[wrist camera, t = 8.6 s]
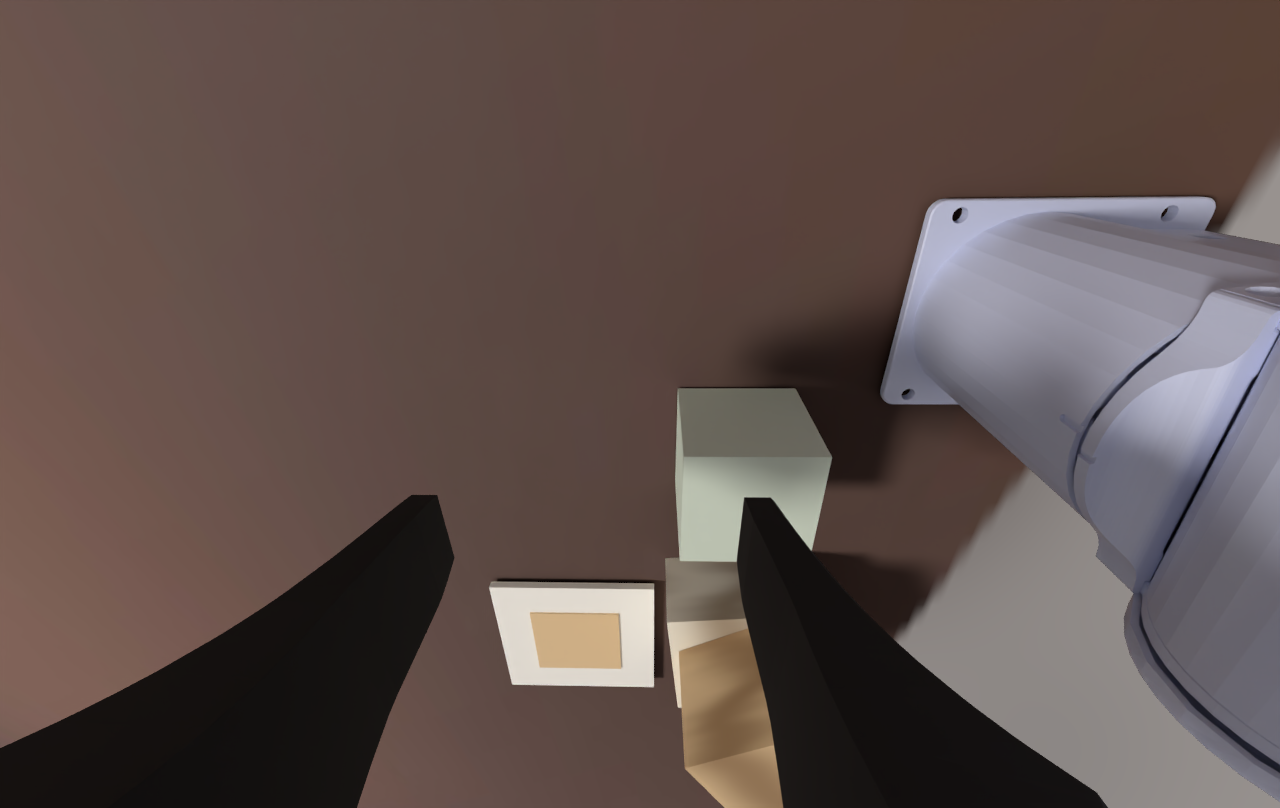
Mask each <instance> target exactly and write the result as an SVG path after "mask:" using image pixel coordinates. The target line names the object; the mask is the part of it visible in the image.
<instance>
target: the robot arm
mask: <svg viewBox="0 0 1280 808" xmlns="http://www.w3.org/2000/svg"><path fill="white" fill-rule="evenodd" d="M1167 207H1168V210H1167V213H1166V214H1165V215H1164V216H1163V217H1162V218H1161V214H1162V212H1163V211H1164V210H1165V209H1166V208H1167ZM958 208H961V209H962V214H961V216H960V218H959V219H957V220H956V221H953V220H952V215H953V213H954V211H956V210H957V209H958ZM1215 208H1216V204H1215V201H1214V200H1213V199H1212V198H1208V197H1201V196H1158V197H1057V198H956V199H940V200H938V201H936V202H934V203H933V204H932V205H931V206H930V207H929V208H928V210H927V213H926V216H925V219H924V223H923V227H922V231H921V235H920V239H919V243H918V246H917V250H916V254H915V258H914V262H913V266H912V270H911V274H910V277H909V281H908V285H907V289H906V293H905V297H904V301H903V304H902V308H901V312H900V316H899V320H898V324H897V328H896V331H895V335H894V339H893V343H892V347H891V351H890V355H889V359H888V362H887V366H886V370H885V374H884V378H883V382H882V386H881V389H880V395H881V397H882V399H883V400H884V401H885V402H887V403H888V404H959V405H960V406H961V407H962V408H963V409H964V410H966V411H967V412H968V413H969V414H970V415H971V416H972V417H973V418H974V419H975V420H976V421H978V422H979V423H980V424H981V425H982V426H983V427H984V428H985V429H986V430H987V431H989V432H990V433H991V434H992V435H993V436H994V437H995V438H996V439H997V440H998V441H1000V442H1001V443H1002V444H1003V445H1004V446H1005V447H1006V448H1007V449H1008V450H1009V451H1011V452H1012V453H1013V454H1014V455H1015V456H1016V457H1017V458H1018V459H1019V460H1020V461H1021V462H1023V463H1024V464H1025V465H1026V466H1027V467H1028V468H1029V469H1030V470H1031V471H1032V472H1034V473H1035V474H1036V475H1037V476H1038V477H1039V478H1040V479H1041V480H1043V482H1045V483H1046V484H1047V485H1048V486H1049V487H1050V488H1051V489H1052V490H1053V491H1054V492H1056V493H1057V494H1058V495H1059V496H1060V497H1061V498H1062V499H1063V500H1064V501H1065V502H1066V503H1068V504H1069V505H1070V506H1071V507H1072V508H1073V509H1074V510H1075V511H1076V512H1077V513H1079V514H1080V515H1081V516H1082V517H1083V518H1084V519H1085V520H1086V521H1087V522H1088V523H1090V525H1091V526H1092V527H1093V528H1094V530H1095V531H1096V533H1097V535H1098V539H1099V546H1098V550H1097V553H1096V557H1097V558H1098V559H1099V560H1100V561H1101V562H1102V563H1103V564H1104V565H1105V566H1106V567H1107V568H1108V569H1109V570H1110V571H1112V573H1113V574H1114V575H1116V577H1118V578H1119V579H1120V580H1121V581H1122V582H1123V583H1124V584H1125V585H1126V586H1127V587H1128V588H1129V589H1130V590H1131V591H1132V592H1133V593H1134V594H1133V596H1132V598H1131V600H1130V602H1129V603H1128V606H1127V610H1126V613H1125V616H1124V635H1125V639H1126V643H1127V646H1128V650H1129V653H1130V656H1131V658H1132V659H1133V661H1134V663H1135V665H1136V667H1137V669H1138V671H1139V673H1140V675H1141V676H1142V678H1143V679H1144V681H1145V682H1146V683H1147V685H1148V686H1149V688H1150V689H1151V690H1152V692H1153V693H1154V695H1155V696H1156V697H1157V699H1158V700H1159V701H1160V702H1161V703H1162V704H1163V705H1164V706H1165V708H1166V709H1167V710H1168V711H1169V712H1170V713H1171V714H1172V715H1173V716H1174V717H1175V719H1176V720H1177V721H1178V722H1179V723H1180V724H1181V725H1182V726H1183V727H1184V728H1185V729H1186V730H1188V731H1189V732H1190V733H1191V734H1192V735H1193V736H1194V737H1195V738H1196V739H1197V740H1198V741H1199V742H1200V743H1202V744H1203V745H1204V746H1205V747H1206V748H1207V749H1208V750H1209V751H1211V752H1212V753H1213V754H1215V755H1216V756H1217V757H1219V758H1220V759H1221V760H1222V761H1223V762H1225V763H1226V764H1227V765H1228V766H1230V767H1231V768H1232V769H1234V770H1235V771H1236V772H1238V774H1240V775H1241V776H1242V777H1244V778H1245V779H1247V780H1248V781H1250V782H1251V783H1253V784H1254V785H1256V786H1257V787H1258V788H1260V789H1261V790H1263V791H1264V792H1266V793H1267V794H1269V795H1270V796H1272V797H1273V798H1275V799H1276V800H1278V801H1279V802H1280V245H1278V244H1273V243H1268V242H1262V241H1257V240H1252V239H1247V238H1241V237H1236V236H1231V235H1225V234H1220V233H1215V232H1210V231H1205V229H1206V227H1207V225H1208V223H1209V221H1210V219H1211V217H1212V215H1213V214H1214V211H1215ZM906 389H910V391H909V393H907V394H906V395H901V394H902V393H903V391H905V390H906ZM453 561H454V554H453V551H452V547H451V544H450V540H449V536H448V533H447V529H446V526H445V522H444V518H443V515H442V511H441V508H440V504H439V500H438V497H437V495H411V496H410V497H408V498H407V499H406V500H404V501H403V502H402V503H400V504H399V505H398V506H397V507H395V508H394V509H393V510H392V511H390V512H389V513H388V514H387V515H385V516H384V517H383V518H382V519H380V520H379V521H378V522H377V523H375V524H374V525H373V526H372V527H370V528H369V529H368V530H367V531H366V532H364V533H363V534H362V535H360V536H359V537H358V538H357V539H355V540H354V541H353V542H352V543H350V544H349V545H348V546H347V547H345V548H344V549H343V550H342V551H340V552H339V553H338V554H337V555H335V556H334V557H333V558H331V559H330V560H329V561H327V562H326V563H325V564H323V565H322V566H321V567H319V568H318V569H317V570H315V571H314V572H312V573H311V574H310V575H308V576H307V577H306V578H304V579H303V580H302V581H300V582H299V583H298V584H296V585H295V586H293V587H292V588H291V589H289V590H288V591H287V592H285V593H284V594H282V595H281V596H279V597H278V598H277V599H275V600H274V601H272V602H271V603H269V604H268V605H266V606H265V607H263V608H262V609H260V610H259V611H257V612H256V613H254V614H253V615H251V616H249V617H248V618H246V619H245V620H243V621H242V622H240V623H239V624H237V625H235V626H234V627H232V628H231V629H229V630H227V631H226V632H224V633H223V634H221V635H219V636H218V637H216V638H214V639H212V640H211V641H209V642H207V643H206V644H204V645H202V646H200V647H199V648H197V649H195V650H193V651H192V652H190V653H188V654H186V655H185V656H183V657H181V658H180V659H178V660H176V661H174V662H173V663H171V664H169V665H167V666H166V667H164V668H162V669H160V670H159V671H157V672H155V673H153V674H151V675H149V676H148V677H146V678H144V679H142V680H140V681H138V682H136V683H134V684H132V685H130V686H129V687H127V688H125V689H123V690H121V691H119V692H117V693H115V694H113V695H111V696H109V697H107V698H105V699H103V700H101V701H99V702H97V703H95V704H93V705H91V706H89V707H87V708H85V709H83V710H81V711H79V712H77V713H75V714H73V715H71V716H69V717H67V718H65V719H63V720H61V721H59V722H57V723H54V724H52V725H50V726H48V727H46V728H43V729H41V730H39V731H37V732H35V733H33V734H30V735H28V736H26V737H24V738H22V739H19V740H17V741H15V742H13V743H11V744H9V745H6V746H4V747H2V748H0V808H357V806H358V803H359V800H360V797H361V794H362V790H363V787H364V784H365V781H366V778H367V775H368V772H369V769H370V766H371V763H372V761H373V758H374V755H375V752H376V749H377V747H378V744H379V741H380V738H381V735H382V733H383V730H384V727H385V724H386V721H387V719H388V716H389V713H390V711H391V709H392V706H393V704H394V702H395V699H396V697H397V694H398V692H399V690H400V688H401V686H402V684H403V681H404V679H405V677H406V675H407V673H408V671H409V669H410V666H411V664H412V662H413V660H414V658H415V656H416V653H417V651H418V649H419V647H420V645H421V643H422V641H423V638H424V636H425V634H426V632H427V630H428V628H429V625H430V623H431V621H432V619H433V617H434V614H435V612H436V610H437V608H438V606H439V603H440V601H441V599H442V596H443V593H444V590H445V587H446V584H447V581H448V577H449V574H450V571H451V567H452V564H453ZM737 568H738V576H739V584H740V592H741V599H742V605H743V609H744V613H745V617H746V622H747V626H748V630H749V634H750V638H751V642H752V646H753V650H754V654H755V658H756V662H757V666H758V671H759V675H760V679H761V683H762V687H763V691H764V695H765V699H766V704H767V708H768V713H769V718H770V723H771V729H772V736H773V742H774V749H775V755H776V762H777V768H778V775H779V782H780V789H781V796H782V803H783V808H1108V807H1107V806H1106V804H1105V803H1104V802H1103V801H1102V799H1101V798H1100V796H1099V795H1098V794H1097V793H1096V792H1095V791H1094V790H1092V789H1090V788H1089V787H1088V786H1086V785H1085V784H1083V783H1082V782H1080V781H1079V780H1077V779H1076V778H1074V777H1073V776H1071V775H1069V774H1068V773H1067V772H1065V771H1064V770H1062V769H1061V768H1059V767H1058V766H1056V765H1055V764H1053V763H1052V762H1050V761H1049V760H1047V759H1046V758H1044V757H1043V756H1042V755H1040V754H1039V753H1037V752H1036V751H1034V750H1033V749H1031V748H1030V747H1028V746H1027V745H1025V744H1024V743H1022V742H1021V741H1019V740H1018V739H1017V738H1015V737H1014V736H1012V735H1011V734H1010V733H1008V732H1007V731H1006V730H1004V729H1003V728H1002V727H1000V726H999V725H998V724H996V723H995V722H994V721H992V720H991V719H990V718H988V717H987V716H986V715H984V714H983V713H981V712H980V711H979V710H977V709H976V708H975V707H973V706H972V705H971V704H970V703H968V702H967V701H966V700H965V699H963V698H962V697H961V696H959V695H958V694H957V693H956V692H955V691H953V690H952V689H951V688H950V687H948V686H947V685H946V684H945V683H944V682H942V681H941V680H940V679H939V678H937V677H936V676H935V675H934V674H933V673H931V672H930V671H929V670H928V669H926V668H925V667H924V666H923V665H922V664H921V663H919V662H918V661H917V660H916V659H915V658H913V657H912V656H911V655H910V654H909V653H908V652H907V651H906V650H905V649H904V648H902V647H901V646H900V645H899V644H898V643H897V642H896V641H895V640H894V639H893V638H892V637H891V636H890V635H888V634H887V633H886V632H885V631H884V630H883V629H882V628H881V627H880V626H879V625H878V624H877V623H876V622H875V621H874V620H873V619H872V618H871V617H870V616H869V615H868V614H867V613H866V612H865V611H864V610H863V609H862V608H861V607H860V606H859V605H858V604H857V603H856V601H855V600H854V599H853V598H852V597H851V596H850V595H849V594H848V593H847V592H846V591H845V590H844V588H843V587H842V586H841V585H840V584H839V583H838V582H837V581H836V579H835V578H834V577H833V576H832V575H831V574H830V573H829V571H828V570H827V569H826V568H825V567H824V565H823V564H822V563H821V562H820V561H819V559H818V558H817V557H816V556H815V554H814V553H813V552H812V551H811V550H810V548H809V547H808V546H807V545H806V543H805V542H804V541H803V539H802V538H801V537H800V535H799V534H798V533H797V532H796V530H795V529H794V528H793V526H792V525H791V524H790V522H789V521H788V519H787V518H786V517H785V515H784V514H783V513H782V511H781V510H780V508H779V507H778V505H777V504H776V503H775V501H774V500H773V499H772V498H771V497H744V503H743V511H742V519H741V528H740V536H739V545H738V553H737Z"/></svg>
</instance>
